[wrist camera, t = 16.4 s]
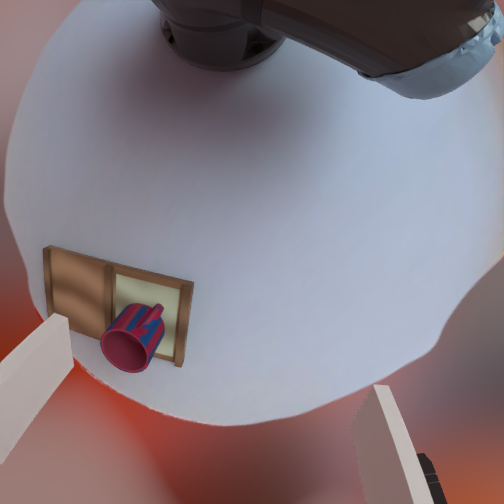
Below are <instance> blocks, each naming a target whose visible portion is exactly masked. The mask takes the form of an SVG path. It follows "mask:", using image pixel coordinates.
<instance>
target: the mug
mask: <svg viewBox="0 0 504 504" xmlns="http://www.w3.org/2000/svg"><path fill="white" fill-rule="evenodd" d="M163 310H164V307H163V306H162V305H161V304H159V303H158V304H156V305H155V306H154V307H153V308H151V307H149V306H147V305H145V304H141V303H133V304H130V305H128V306H126V307H125V308H124V309H123V310H122V312H121V313H120V314H119V315H118V316H117V318H116V319H115V320H114V321H113V322H112V324H111V325H110V326H109V327H108V328H107V330H106V331H105V332H104V333H103V335H102V337H101V342H100V344H101V349H102V352H103V354H104V355H105V357H106V358H107V359H108V361H109V362H110V363H111V364H113V365H114V366H115V367H117V368H118V369H120V370H123V371H125V372H130V373H137V372H141V371H143V370H145V369H146V368H147V366H148V365H149V363H150V361H151V359H152V357H153V355H154V353H155V351H156V349H157V347H158V346H159V344H160V342H161V340H162V338H163V336H164V333H165V325H164V322H163V320H162V318H161V314H162V312H163Z"/></svg>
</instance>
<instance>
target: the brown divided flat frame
mask: <svg viewBox="0 0 504 504" xmlns="http://www.w3.org/2000/svg"><path fill="white" fill-rule="evenodd" d="M43 265H44V281H45V293H46V303H47V312H48V318H49V317H50V316H51V315H52V314H53V313H56V314H59V315H62V316H64V317H67V318H68V324H69V329H71V330H73V331H76V332H79V333H82V334H84V335H87V336H90V337H93V338H96V339H99V340H101V337H102V335H103V333H104V332H105V331H106V330H107V328H108V327H109V326H110V325H111V324H112V322H113V321H114V320H115V319H116V318H117V316H118V315H119V314H120V313H121V312H122V310H123V309H124V308H125V307H126V306H128V305H130V304H133V303H141V304H145V305H147V306H149V307H151V308H153V307H154V306H155V305H156V304H158V303H159V304H161V305H162V306H163V307H164V310H163V312H162V314H161V318H162V320H163V322H164V325H165V333H164V336H163V338H162V340H161V342H160V344H159V346H158V347H157V349H156V351H155V353H154V355H153V357H157V358H160V359H164V360H168V361H172V362H175V365H174V366H177V367H182V364H183V361H184V356H185V347H186V339H187V331H188V323H189V316H190V309H191V301H192V294H193V287H194V282H191V281H187V280H183V279H178V278H174V277H170V276H166V275H161V274H157V273H153V272H149V271H145V270H141V269H137V268H133V267H129V266H125V265H121V264H117V263H113V262H110V261H106V260H102V259H98V258H94V257H91V256H87V255H83V254H79V253H76V252H72V251H69V250H65V249H61V248H58V247H54V246H51V245H49V246H47V247H46V248H44V249H43Z"/></svg>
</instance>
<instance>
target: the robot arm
mask: <svg viewBox="0 0 504 504" xmlns="http://www.w3.org/2000/svg"><path fill="white" fill-rule="evenodd" d="M151 1H152V2H153V3H154V4H155V5H156V6H157V8H158V9H159V10H160V12H161V28H162V32H163V35H164V37H165V39H166V41H167V43H168V44H169V46H170V47H171V48H172V49H173V50H174V51H175V52H176V53H177V54H178V55H179V56H180V57H181V58H182V59H183V60H185V61H186V62H188V63H190V64H192V65H194V66H197V67H199V68H203V69H207V70H213V71H232V70H238V69H243V68H246V67H249V66H252V65H255V64H257V63H259V62H261V61H263V60H264V59H266V58H267V57H269V56H270V55H272V54H273V53H274V52H275V51H276V50H277V49H278V48H279V47H280V46H281V44H282V43H283V42H284V40H285V38H286V37H287V38H289V39H292V40H294V41H296V42H299V43H301V44H303V45H305V46H308V47H310V48H312V49H314V50H317V51H319V52H321V53H323V54H325V55H327V56H329V57H331V58H333V59H335V60H337V61H339V62H341V63H343V64H345V65H347V66H349V67H351V68H352V69H354V70H356V71H357V72H358V74H359V75H360V76H362V77H363V78H365V79H367V80H371V81H376V82H378V83H380V84H382V85H384V86H385V87H387V88H389V89H391V90H392V91H394V92H396V93H398V94H399V95H401V96H404V97H407V98H410V99H414V98H415V99H422V100H426V99H432V98H436V97H440V96H442V95H445V94H447V93H450V92H452V91H454V90H455V89H457V88H459V87H460V86H462V85H463V84H465V83H466V82H467V81H469V80H470V79H472V78H473V77H474V76H475V75H476V74H477V73H478V72H480V71H481V70H482V69H483V68H484V66H485V65H486V64H487V63H488V62H489V60H490V59H491V58H492V56H493V55H494V53H495V48H494V46H495V45H496V44H498V43H500V42H501V40H502V38H503V34H504V17H503V14H502V12H501V11H500V8H499V6H498V5H497V3H496V2H495V1H494V0H151ZM73 367H74V363H73V356H72V349H71V341H70V333H69V324H68V318H67V317H64V316H62V315H59V314H56V313H53V314H52V315H51V316H50V317H49V318H48V319H47V320H46V321H44V322H43V323H42V324H41V325H40V326H39V327H38V328H37V329H36V330H35V331H33V332H32V333H31V334H30V335H29V336H28V337H27V338H26V339H25V340H24V341H22V343H20V344H19V345H18V346H17V347H16V348H15V349H14V350H13V351H12V352H11V353H10V354H9V355H8V356H7V357H6V358H5V359H4V360H3V361H2V362H0V464H1V465H2V464H3V462H4V460H5V459H6V458H7V456H8V454H9V453H10V452H11V450H12V449H13V447H14V446H15V444H16V443H17V442H18V440H19V438H20V437H21V436H22V434H23V433H24V432H25V430H26V429H27V427H28V426H29V425H30V423H31V422H32V420H33V419H34V418H35V416H36V415H37V414H38V412H39V411H40V410H41V408H42V407H43V406H44V404H45V403H46V401H47V400H48V399H49V398H50V396H51V395H52V394H53V392H54V391H55V390H56V388H57V387H58V386H59V385H60V383H61V382H62V381H63V379H64V378H65V377H66V376H67V374H68V373H69V372H70V370H71V369H72V368H73ZM349 429H350V433H351V438H352V442H353V446H354V451H355V455H356V460H357V464H358V469H359V474H360V479H361V483H362V488H363V493H364V498H365V503H366V504H447V501H446V498H445V496H444V493H443V490H442V488H441V485H440V483H439V482H438V481H439V480H438V477H437V475H436V474H435V473H436V472H435V469H434V467H433V464H432V462H431V461H430V460H429V459H428V458H427V457H426V455H425V454H424V453H421V454H416V452H415V450H414V447H413V444H412V442H411V439H410V437H409V435H408V432H407V429H406V427H405V424H404V422H403V419H402V417H401V414H400V412H399V410H398V407H397V405H396V403H395V400H394V398H393V395H392V393H391V391H390V388H389V386H384V385H373V386H372V388H371V390H370V391H369V393H368V395H367V397H366V399H365V400H364V402H363V404H362V405H361V407H360V409H359V411H358V412H357V414H356V416H355V417H354V419H353V421H352V422H351V424H350V425H349Z"/></svg>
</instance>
